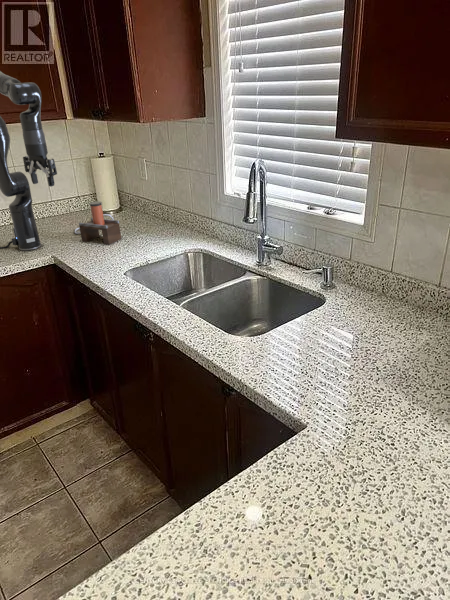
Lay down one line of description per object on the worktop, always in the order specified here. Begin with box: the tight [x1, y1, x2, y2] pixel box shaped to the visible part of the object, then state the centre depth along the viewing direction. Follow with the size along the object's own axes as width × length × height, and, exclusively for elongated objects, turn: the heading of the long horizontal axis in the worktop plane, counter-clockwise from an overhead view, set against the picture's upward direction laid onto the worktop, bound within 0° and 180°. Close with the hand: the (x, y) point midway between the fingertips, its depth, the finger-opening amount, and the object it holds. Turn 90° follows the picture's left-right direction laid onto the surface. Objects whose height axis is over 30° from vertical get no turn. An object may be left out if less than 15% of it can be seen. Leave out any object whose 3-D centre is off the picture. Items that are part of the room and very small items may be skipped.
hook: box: [74, 213, 115, 235], centre depth 223 cm, size 7×9×20 cm
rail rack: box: [78, 217, 122, 246], centre depth 207 cm, size 16×9×9 cm, turn 64°
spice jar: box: [89, 200, 105, 225], centre depth 203 cm, size 5×5×10 cm
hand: (43, 184), depth 175 cm, fingers open, 8 cm apart
